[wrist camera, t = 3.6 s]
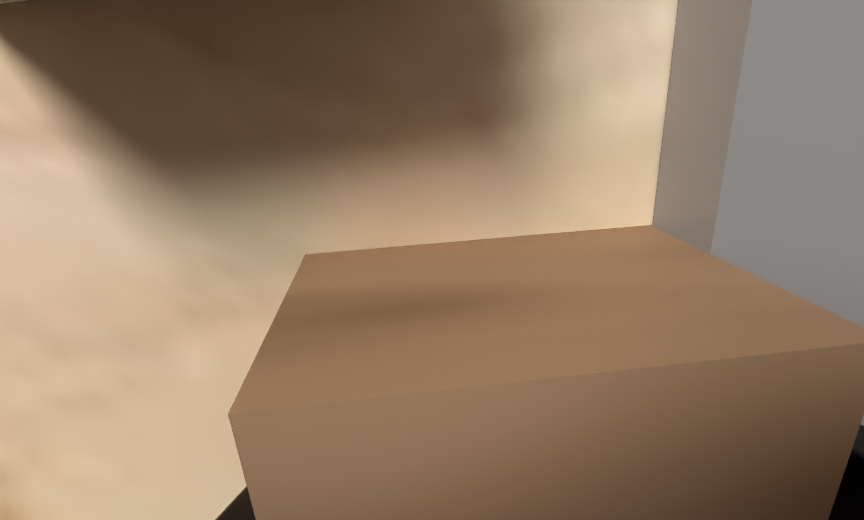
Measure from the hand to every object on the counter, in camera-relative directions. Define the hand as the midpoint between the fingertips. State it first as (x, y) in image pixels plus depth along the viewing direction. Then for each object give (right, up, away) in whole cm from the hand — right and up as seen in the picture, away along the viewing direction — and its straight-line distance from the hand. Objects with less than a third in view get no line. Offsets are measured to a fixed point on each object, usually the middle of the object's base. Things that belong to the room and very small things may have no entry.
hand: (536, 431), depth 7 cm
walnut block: (-1, 0, +1) cm, 2 cm away
